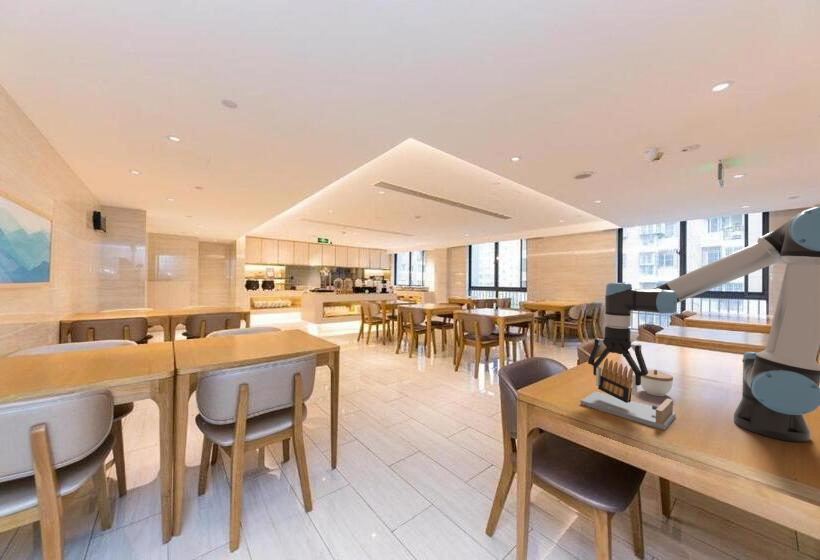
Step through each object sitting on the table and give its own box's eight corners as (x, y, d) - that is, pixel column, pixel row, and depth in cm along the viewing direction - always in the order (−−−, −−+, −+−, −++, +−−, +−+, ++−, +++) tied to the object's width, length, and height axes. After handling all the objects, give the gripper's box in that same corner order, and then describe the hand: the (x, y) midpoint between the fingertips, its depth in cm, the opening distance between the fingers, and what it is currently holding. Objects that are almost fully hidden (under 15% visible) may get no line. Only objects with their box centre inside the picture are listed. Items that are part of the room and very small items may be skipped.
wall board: (675, 417, 103) (675, 400, 103) (664, 430, 94) (665, 412, 94) (595, 395, 121) (595, 381, 121) (580, 404, 112) (580, 389, 112)
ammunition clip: (630, 402, 106) (636, 368, 104) (626, 403, 105) (632, 369, 104) (601, 388, 116) (606, 357, 114) (597, 388, 115) (602, 357, 114)
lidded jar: (660, 389, 129) (660, 366, 128) (679, 399, 118) (680, 374, 118) (632, 387, 130) (632, 365, 129) (649, 398, 119) (650, 373, 119)
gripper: (661, 330, 103) (659, 396, 103) (586, 321, 121) (585, 378, 121) (655, 332, 98) (653, 402, 99) (578, 323, 116) (577, 382, 116)
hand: (615, 389), depth 110 cm, fingers closed on ammunition clip, 10 cm apart
